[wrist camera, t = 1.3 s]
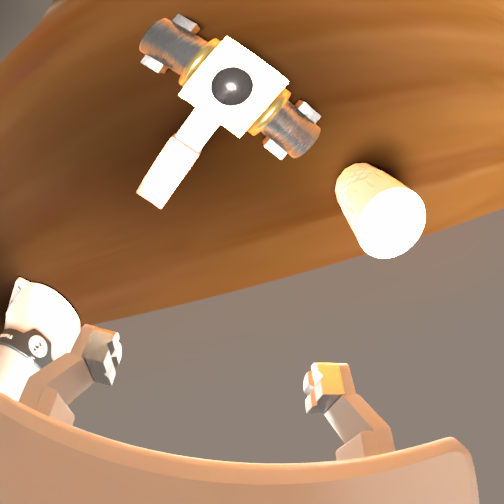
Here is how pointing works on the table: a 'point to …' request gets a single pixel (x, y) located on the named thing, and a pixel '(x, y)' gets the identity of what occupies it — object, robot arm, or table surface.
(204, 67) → the valve
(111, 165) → the table surface
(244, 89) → the lever
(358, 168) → the white cup
